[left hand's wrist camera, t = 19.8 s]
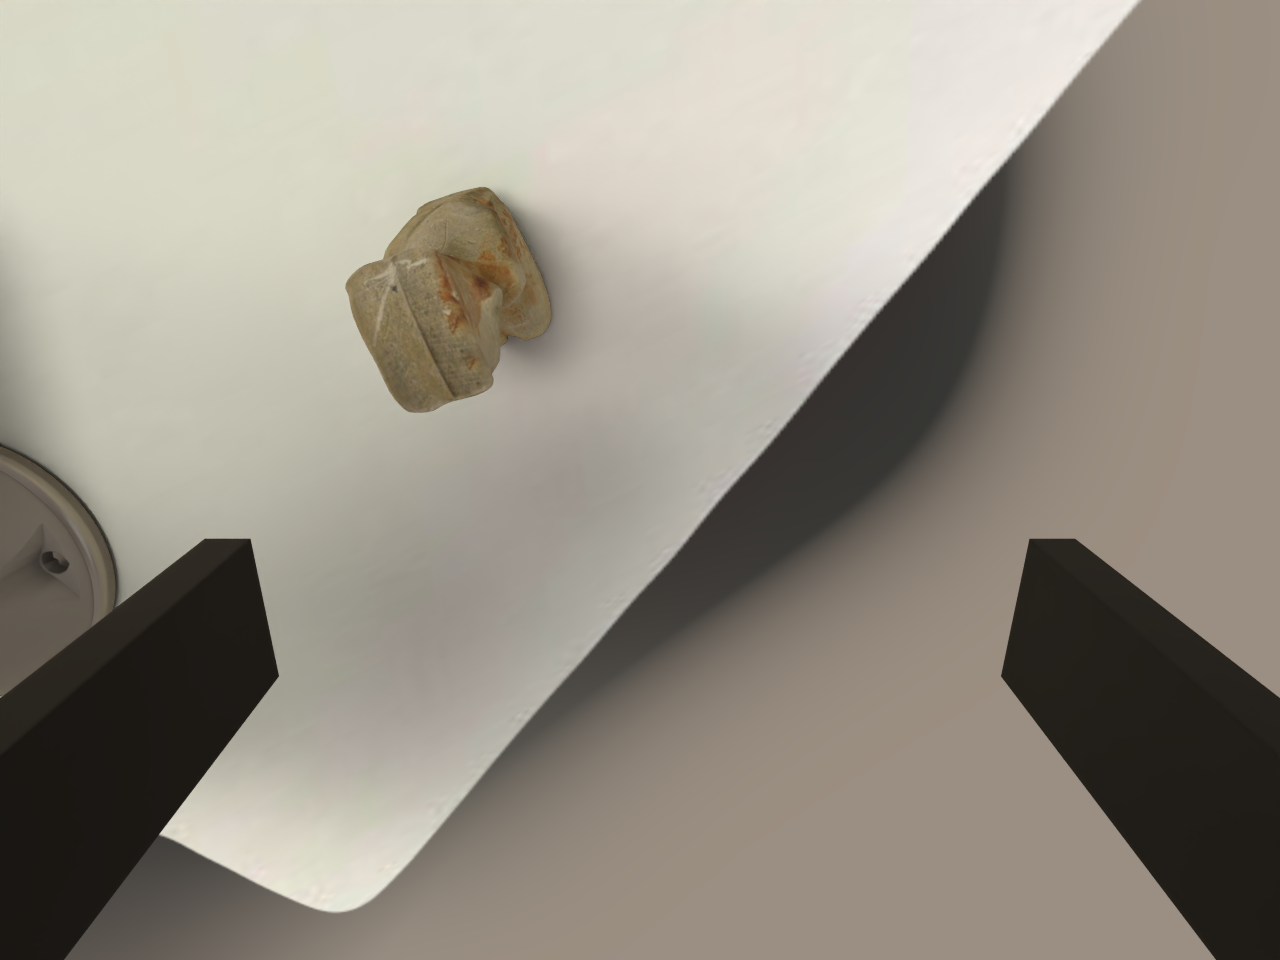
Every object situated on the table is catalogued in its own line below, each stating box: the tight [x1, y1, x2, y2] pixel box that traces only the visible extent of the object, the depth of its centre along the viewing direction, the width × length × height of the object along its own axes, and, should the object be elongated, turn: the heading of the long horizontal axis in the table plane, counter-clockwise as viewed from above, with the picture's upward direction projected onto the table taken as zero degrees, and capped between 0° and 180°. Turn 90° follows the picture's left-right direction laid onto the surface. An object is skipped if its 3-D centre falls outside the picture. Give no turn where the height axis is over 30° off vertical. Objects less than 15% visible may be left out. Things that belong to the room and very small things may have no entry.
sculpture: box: [345, 187, 551, 413], centre depth 30 cm, size 6×7×15 cm
